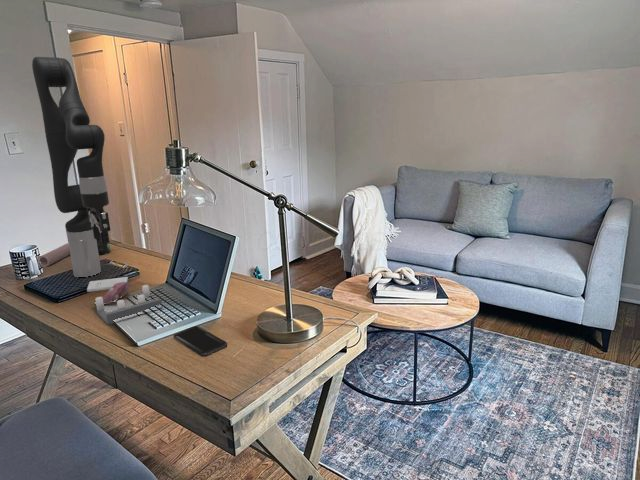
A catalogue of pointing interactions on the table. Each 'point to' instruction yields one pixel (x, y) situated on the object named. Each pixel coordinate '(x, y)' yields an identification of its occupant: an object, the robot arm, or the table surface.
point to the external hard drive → (104, 284)
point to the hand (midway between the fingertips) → (101, 241)
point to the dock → (128, 310)
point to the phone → (200, 341)
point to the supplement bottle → (102, 247)
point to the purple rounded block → (116, 292)
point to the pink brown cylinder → (54, 255)
